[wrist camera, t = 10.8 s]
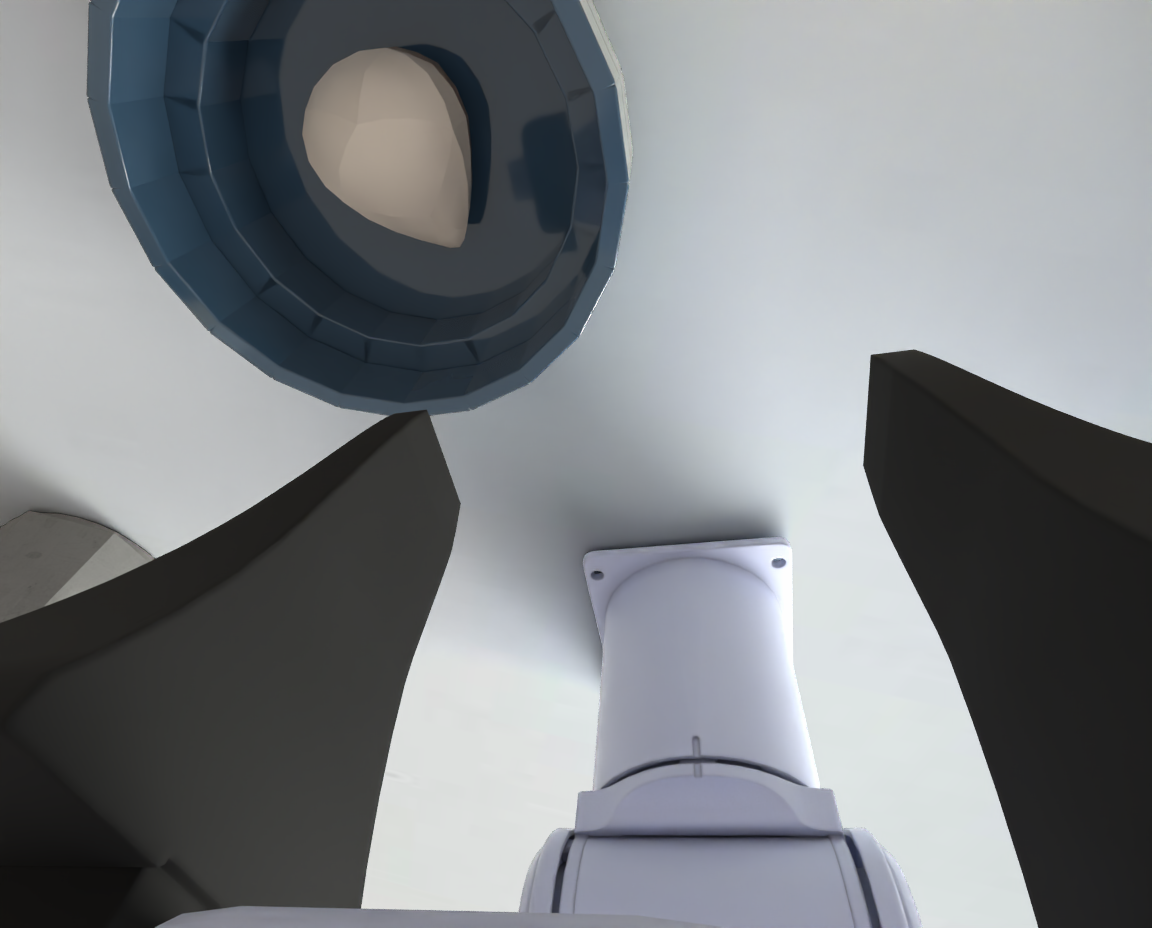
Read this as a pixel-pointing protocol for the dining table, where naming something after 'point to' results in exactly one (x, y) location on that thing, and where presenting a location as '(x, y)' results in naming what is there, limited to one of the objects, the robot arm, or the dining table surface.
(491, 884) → the dining table surface
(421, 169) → the beige pebble
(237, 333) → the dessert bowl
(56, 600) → the coffeepot
